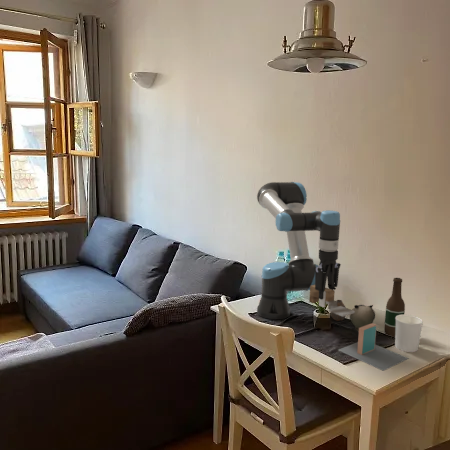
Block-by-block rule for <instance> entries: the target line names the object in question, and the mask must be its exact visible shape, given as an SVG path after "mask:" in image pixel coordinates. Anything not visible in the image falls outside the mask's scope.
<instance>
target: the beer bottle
mask: <svg viewBox="0 0 450 450" xmlns="http://www.w3.org/2000/svg"><path fill="white" fill-rule="evenodd" d="M392 282H393V286H392V291H391V296H390V297H389V298H388V299H387V301H386V306H385V316H384V327H383V332H384V335H386V336H389V337H392V338H395V326H396V319H395V318H396V316H397V315H405V311H406V303H405V301H404V299H403V296H402V283H403V278H401V277H393V280H392Z"/></svg>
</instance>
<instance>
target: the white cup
mask: <svg viewBox="0 0 450 450" xmlns="http://www.w3.org/2000/svg"><path fill="white" fill-rule="evenodd" d="M395 319H396V326H395V337H394V346H395V348H396V349H397V350H399V351H403V352H406V353H407V352H408V353H414V352H417V351H418V350H419V345H420V341H421V334H422V333H421V332H422V328H423V322H424V321H423V319H422V318H420V317H418V316H416V315H412V314H404V315H397V316H396V318H395Z"/></svg>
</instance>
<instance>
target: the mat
mask: <svg viewBox="0 0 450 450" xmlns="http://www.w3.org/2000/svg"><path fill="white" fill-rule="evenodd" d="M357 350H358V341H357V342H353V343H352V344H350V345H349V344H348V345H347V346H344V347H342V348H339V349H338V351H339V352H341V353H343V354H345V355H347V356H350V357H352V358H354V359H356V360H358V361H361V362H362V363H365V364H368V366H369V365H370V366H371V367H373V368H376V369H378V370H381V371H383V372H384V371H386V370H388V369H390V368H392V367H394V366H396V365H398V364H401V363H403V362H405V361H407V360H409V357H406V356H404V355H401V354H400V353H396V352H395V351H393V350H390V349H387V348H385V347H382V346H379V345H377V344H375V350H372V351H370V352H367V353H365V354H363V355H361V354H358V353H357Z"/></svg>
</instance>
